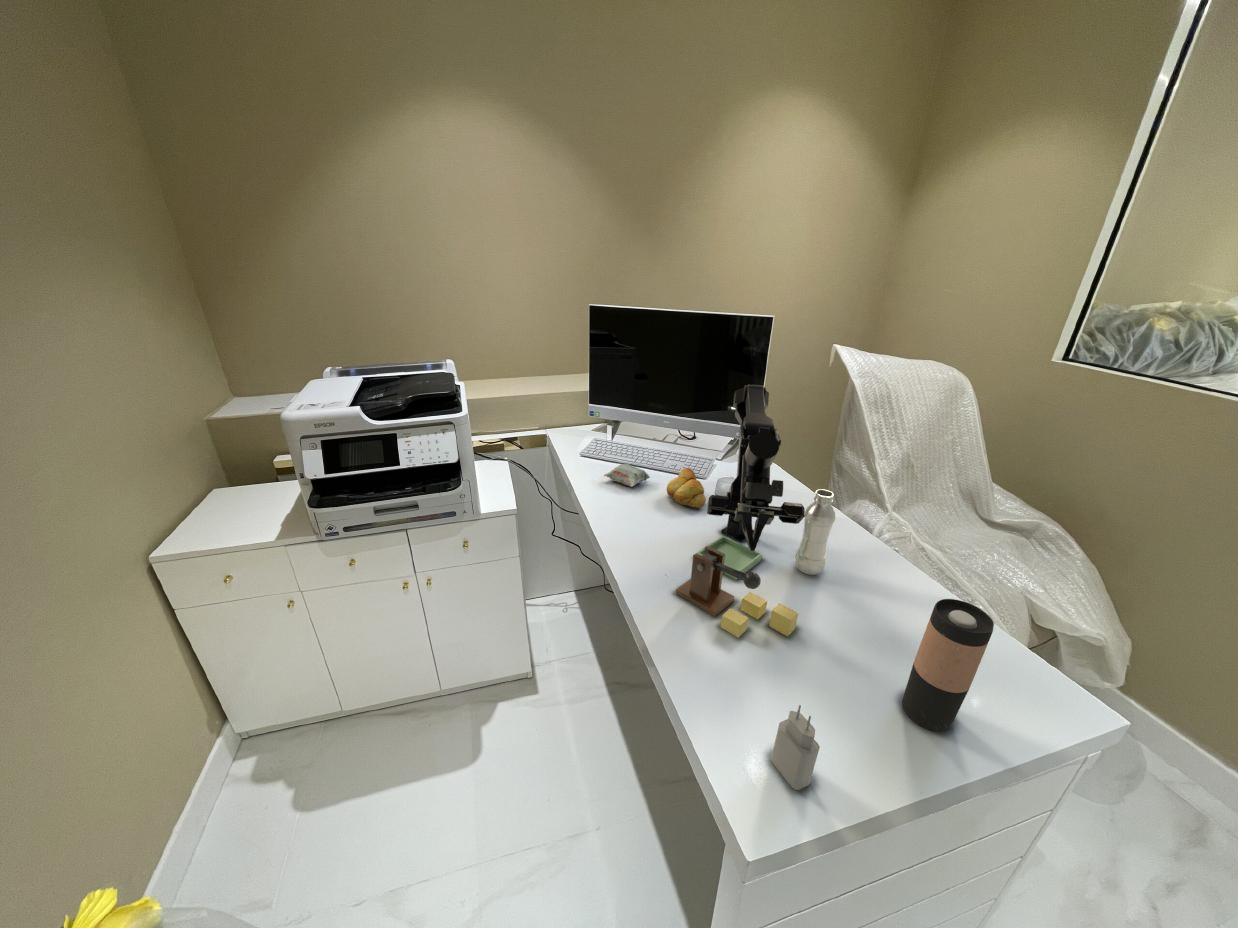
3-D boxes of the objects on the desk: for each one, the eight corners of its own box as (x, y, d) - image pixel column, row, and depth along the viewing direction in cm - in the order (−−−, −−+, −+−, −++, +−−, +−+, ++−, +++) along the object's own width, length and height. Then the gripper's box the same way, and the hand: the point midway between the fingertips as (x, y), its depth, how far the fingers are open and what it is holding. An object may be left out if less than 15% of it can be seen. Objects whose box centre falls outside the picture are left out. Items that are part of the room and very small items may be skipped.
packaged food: (632, 492, 149) (633, 477, 147) (603, 480, 156) (603, 466, 154) (650, 483, 155) (651, 469, 153) (621, 472, 162) (621, 458, 160)
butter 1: (729, 619, 100) (730, 607, 99) (746, 629, 98) (748, 617, 96) (720, 627, 98) (722, 615, 97) (738, 637, 96) (740, 625, 94)
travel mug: (890, 693, 84) (922, 598, 76) (933, 691, 85) (969, 596, 77) (918, 734, 78) (957, 635, 69) (965, 731, 78) (1009, 632, 70)
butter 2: (748, 603, 105) (750, 591, 104) (765, 612, 102) (767, 600, 101) (740, 609, 103) (742, 598, 102) (757, 619, 100) (759, 607, 99)
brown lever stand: (733, 600, 105) (740, 558, 101) (714, 616, 101) (720, 572, 96) (695, 579, 112) (699, 538, 107) (675, 593, 107) (679, 551, 103)
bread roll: (712, 508, 142) (715, 482, 138) (682, 514, 138) (685, 488, 135) (688, 488, 152) (690, 464, 149) (660, 494, 149) (662, 469, 145)
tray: (722, 541, 126) (723, 535, 125) (761, 560, 119) (762, 553, 118) (696, 559, 119) (696, 552, 118) (736, 580, 112) (737, 573, 111)
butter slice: (776, 618, 101) (779, 602, 99) (794, 628, 98) (798, 612, 96) (768, 626, 99) (771, 610, 97) (787, 636, 96) (791, 620, 94)
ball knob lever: (763, 586, 96) (764, 572, 95) (754, 594, 94) (755, 579, 93) (707, 563, 105) (707, 549, 104) (698, 569, 103) (698, 555, 102)
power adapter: (785, 749, 75) (799, 691, 70) (812, 782, 70) (829, 722, 65) (768, 758, 73) (781, 699, 68) (795, 792, 69) (811, 731, 64)
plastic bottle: (824, 565, 118) (841, 489, 109) (821, 581, 112) (839, 503, 104) (795, 558, 120) (810, 483, 112) (791, 573, 114) (807, 496, 106)
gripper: (713, 458, 99) (707, 536, 93) (811, 467, 96) (811, 547, 90) (709, 477, 109) (703, 548, 103) (798, 486, 106) (797, 559, 101)
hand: (752, 550), depth 99 cm, fingers closed
